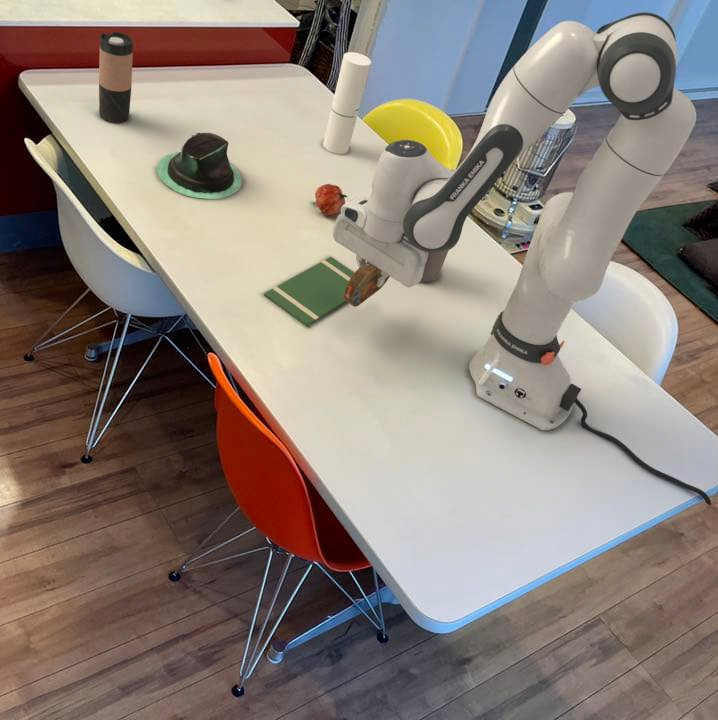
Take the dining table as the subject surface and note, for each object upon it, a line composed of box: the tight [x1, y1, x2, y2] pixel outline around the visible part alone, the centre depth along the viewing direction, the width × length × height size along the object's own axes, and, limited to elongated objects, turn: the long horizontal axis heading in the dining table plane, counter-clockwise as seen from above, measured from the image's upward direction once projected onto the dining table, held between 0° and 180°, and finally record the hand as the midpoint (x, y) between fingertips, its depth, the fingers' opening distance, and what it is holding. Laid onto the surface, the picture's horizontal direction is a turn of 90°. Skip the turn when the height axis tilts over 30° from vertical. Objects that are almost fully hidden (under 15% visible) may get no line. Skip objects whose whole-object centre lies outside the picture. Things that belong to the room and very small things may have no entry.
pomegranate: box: [312, 183, 348, 216], centre depth 187 cm, size 7×7×10 cm
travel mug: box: [98, 31, 134, 124], centre depth 190 cm, size 8×8×20 cm
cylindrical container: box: [322, 51, 372, 155], centre depth 205 cm, size 7×7×25 cm
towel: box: [263, 256, 355, 327], centre depth 166 cm, size 12×22×1 cm, turn 142°
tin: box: [344, 261, 391, 308], centre depth 156 cm, size 15×3×8 cm, turn 145°
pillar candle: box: [419, 250, 450, 283], centre depth 176 cm, size 10×10×15 cm
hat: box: [156, 132, 243, 200], centre depth 186 cm, size 15×19×20 cm
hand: (369, 279), depth 156 cm, fingers closed on tin, 2 cm apart
